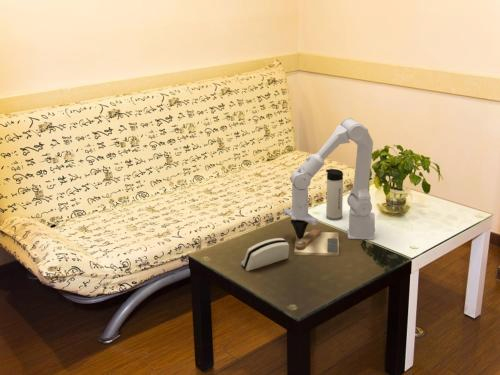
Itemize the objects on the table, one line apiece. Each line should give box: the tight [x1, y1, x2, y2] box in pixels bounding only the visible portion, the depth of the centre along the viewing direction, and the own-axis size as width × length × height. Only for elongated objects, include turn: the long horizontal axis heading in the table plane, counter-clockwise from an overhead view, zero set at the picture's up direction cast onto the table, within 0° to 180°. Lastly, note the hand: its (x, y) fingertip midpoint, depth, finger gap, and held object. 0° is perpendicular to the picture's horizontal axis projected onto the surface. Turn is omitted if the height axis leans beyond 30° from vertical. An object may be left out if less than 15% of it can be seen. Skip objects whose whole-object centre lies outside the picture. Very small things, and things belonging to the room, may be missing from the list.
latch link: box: [294, 228, 322, 250], centre depth 212 cm, size 15×4×2 cm, turn 148°
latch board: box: [293, 231, 340, 257], centre depth 212 cm, size 16×17×1 cm
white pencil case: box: [240, 237, 290, 272], centre depth 199 cm, size 17×5×10 cm, turn 121°
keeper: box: [327, 238, 338, 253], centre depth 206 cm, size 4×5×3 cm
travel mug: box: [325, 168, 344, 221], centre depth 231 cm, size 6×7×20 cm
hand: (300, 237), depth 215 cm, fingers closed
